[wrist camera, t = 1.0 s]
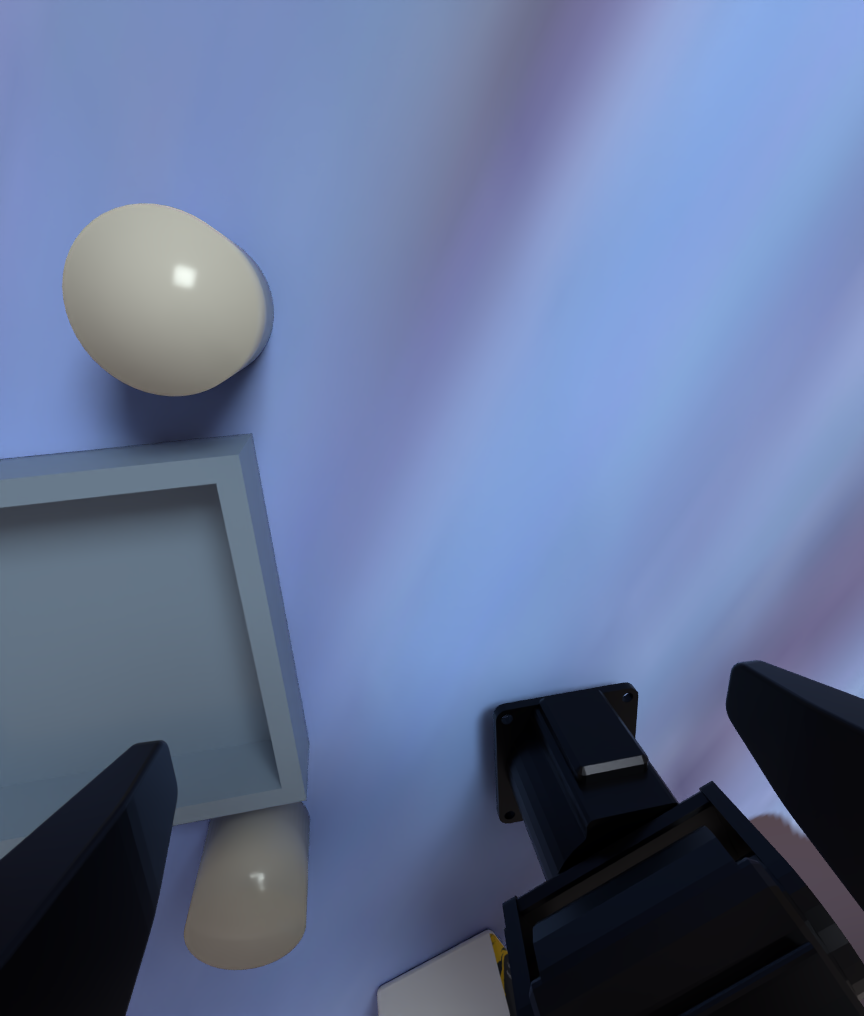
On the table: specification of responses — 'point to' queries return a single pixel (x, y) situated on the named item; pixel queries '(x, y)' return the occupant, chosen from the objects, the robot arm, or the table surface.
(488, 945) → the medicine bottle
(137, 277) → the pebble
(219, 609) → the dish
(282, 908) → the pebble
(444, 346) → the table surface
